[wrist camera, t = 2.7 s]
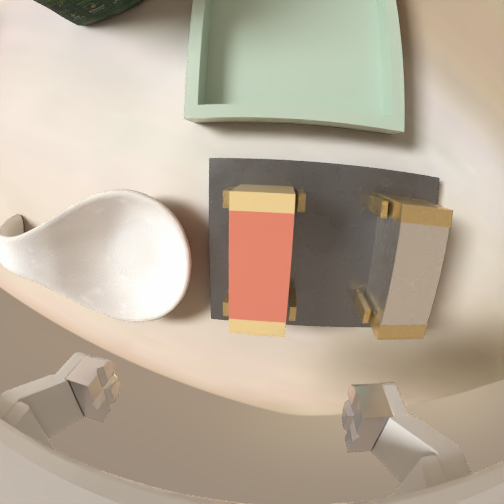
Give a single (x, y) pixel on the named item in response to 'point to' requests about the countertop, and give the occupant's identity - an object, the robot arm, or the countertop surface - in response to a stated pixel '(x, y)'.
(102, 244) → the spoon rest
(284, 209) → the fuse
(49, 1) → the coffee jar
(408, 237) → the fuse holder
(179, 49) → the countertop surface
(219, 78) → the tray
